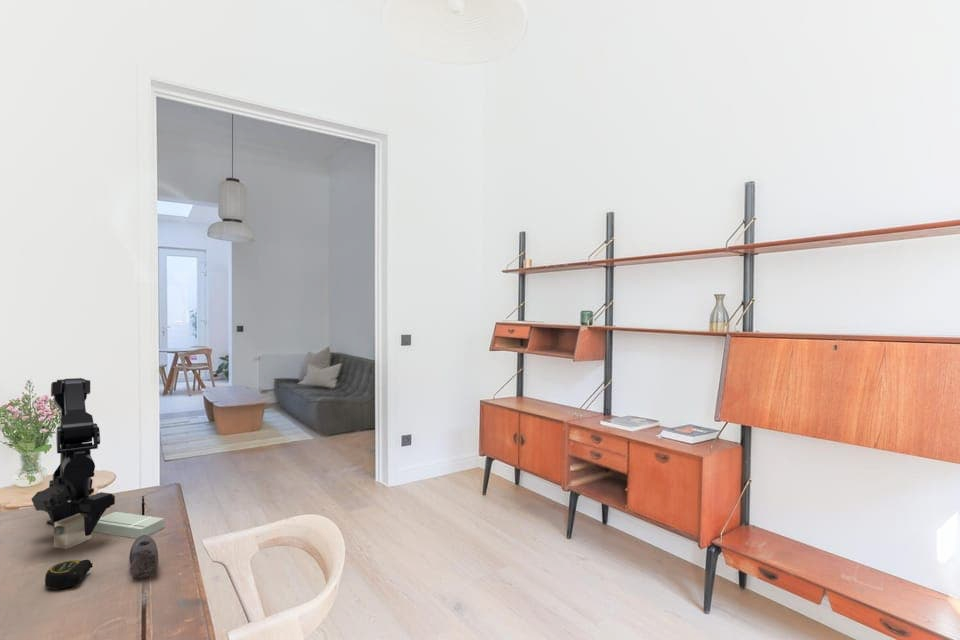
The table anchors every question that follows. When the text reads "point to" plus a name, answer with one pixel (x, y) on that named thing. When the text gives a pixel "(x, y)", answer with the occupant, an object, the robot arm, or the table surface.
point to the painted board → (128, 524)
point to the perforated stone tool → (143, 557)
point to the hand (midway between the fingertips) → (73, 533)
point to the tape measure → (67, 573)
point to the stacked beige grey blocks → (70, 532)
